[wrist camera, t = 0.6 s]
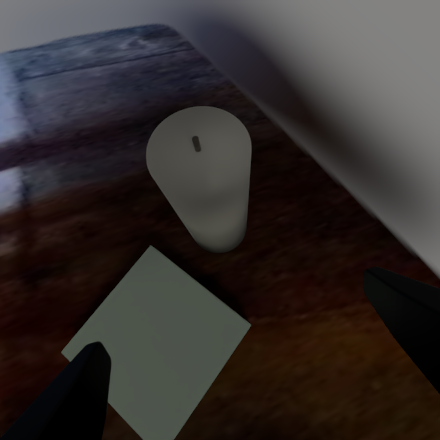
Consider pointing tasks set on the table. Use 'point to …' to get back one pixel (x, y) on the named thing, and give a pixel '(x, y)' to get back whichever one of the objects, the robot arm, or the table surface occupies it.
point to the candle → (204, 173)
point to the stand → (160, 344)
